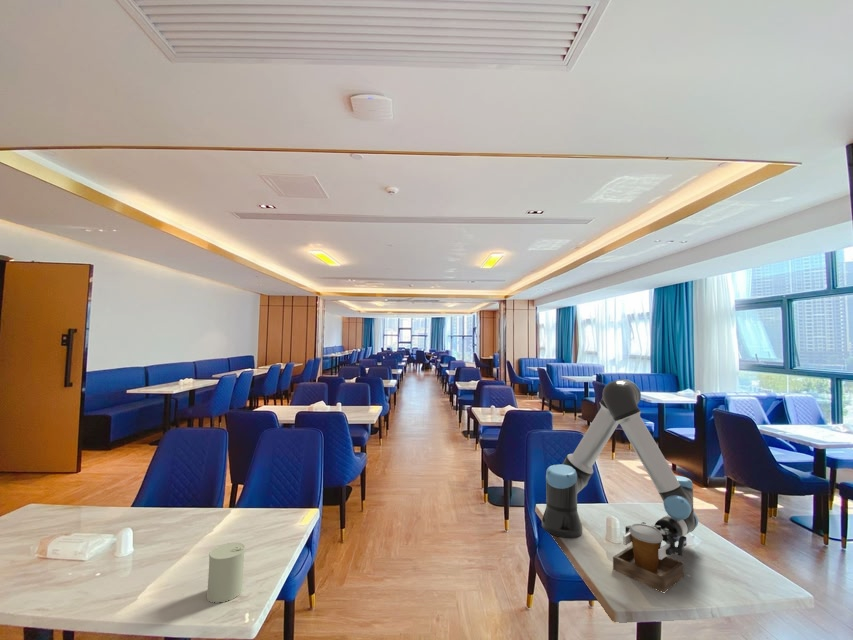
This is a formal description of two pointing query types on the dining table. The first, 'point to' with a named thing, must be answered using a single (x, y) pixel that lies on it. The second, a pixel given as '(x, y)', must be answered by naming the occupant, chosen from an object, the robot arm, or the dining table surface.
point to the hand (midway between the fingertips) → (641, 547)
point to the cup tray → (662, 580)
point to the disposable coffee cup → (646, 546)
